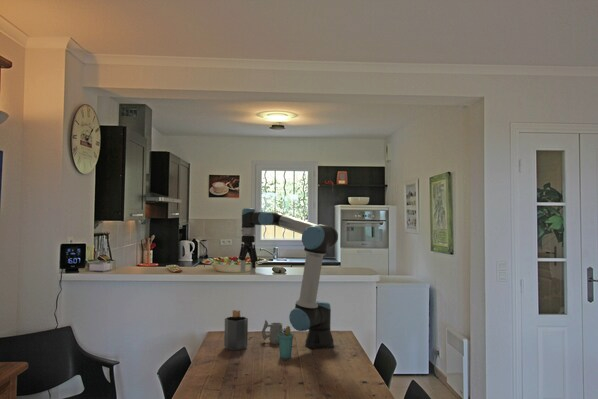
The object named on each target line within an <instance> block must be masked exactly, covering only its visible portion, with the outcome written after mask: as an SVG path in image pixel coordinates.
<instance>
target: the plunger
mask: <svg viewBox="0 0 598 399" xmlns="http://www.w3.org/2000/svg"><path fill="white" fill-rule="evenodd" d="M232 317H233V318H232V320H234V321H238V320H240V317H241V310H239V309H236V310H232Z"/></svg>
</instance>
